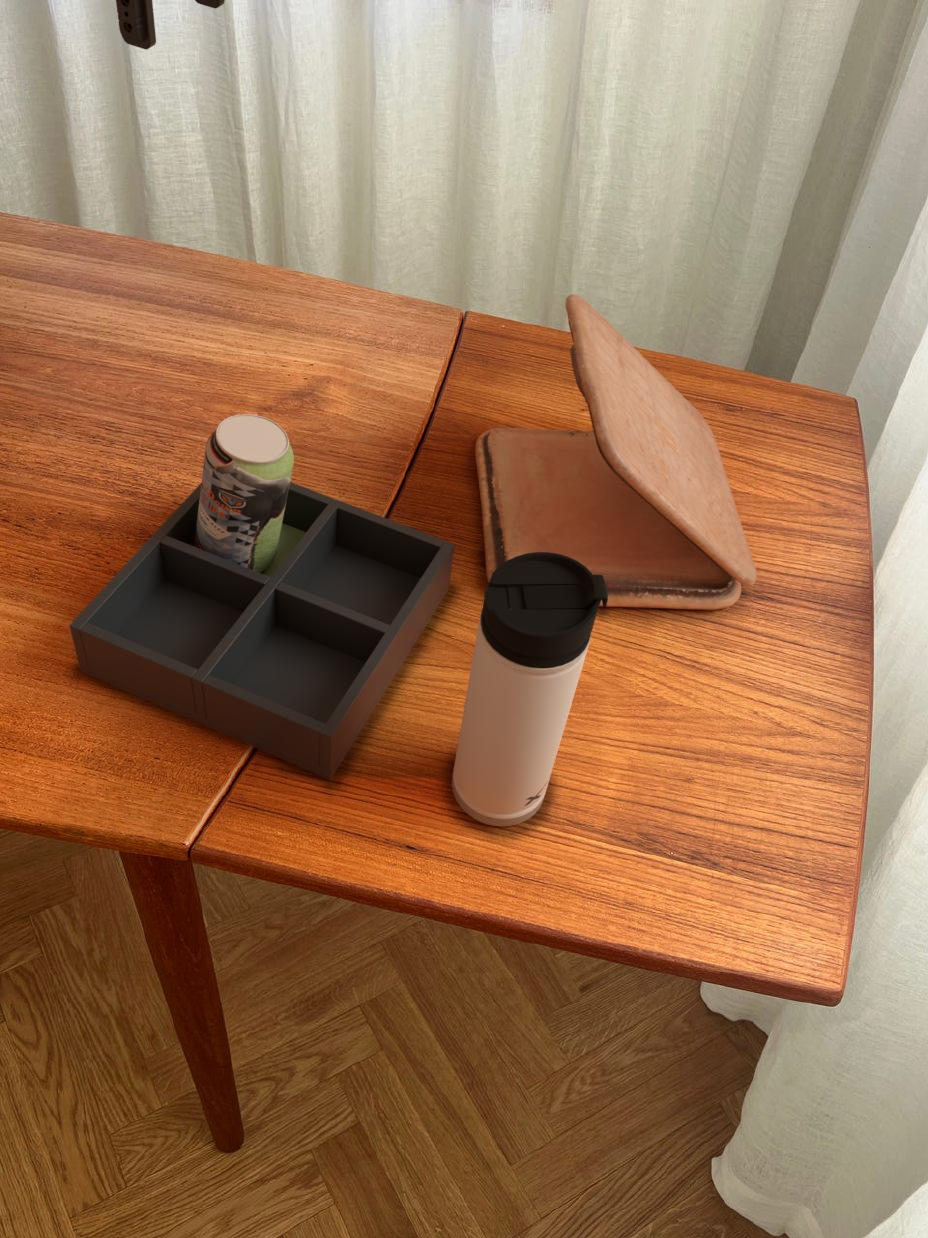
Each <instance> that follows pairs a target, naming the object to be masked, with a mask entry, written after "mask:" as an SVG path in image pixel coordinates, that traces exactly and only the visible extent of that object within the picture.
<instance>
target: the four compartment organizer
mask: <svg viewBox="0 0 928 1238" xmlns="http://www.w3.org/2000/svg"><path fill="white" fill-rule="evenodd" d="M200 492H201V483H199V485H198V486H197V487H196V488H195V489H194V490H193V491H191V493H190V494H189V495H188V496H187V498H185V500H184V501H183V502H182V503H181V504H180V505H179V506H178V508H176V509H175V510H174V511H173V513H172V514H171V515H170V516H169V517H168V518H167V519H166V520H165V521H164V522H163V523H162V525H160V527H158V529H157V530H156V531H155V532H154V533H153V534H152V535H151V536H150V538H149V539H148V540H146V542H145V543H144V544H143V545H142V546H141V547H140V548H139V550H137V552H136V553H135V554H134V555H133V556H132V557H131V558H130V559H129V560H128V561H127V562H126V563H125V564H124V566H123V567H122V568H121V569H119V571H118V572H117V573H116V574H115V575H114V577H112V579H111V580H110V581H109V582H107V584H106V585H105V586H104V587H103V588H102V589H101V590H100V591H99V592H98V594H96V596H95V597H94V598H93V599H92V600H91V601H90V603H88V605H86V607H85V608H83V610H82V611H81V612H80V613H79V614H78V615H77V616H76V618H75V619H74V620H72V622H71V623H70V624H69V630H70V635H71V638H72V643H73V645H74V650H75V654H76V658H77V662H78V665H79V669H80V672H81V673H83V674H85V675H87V676H89V677H92V678H94V679H96V680H99V681H100V682H102V683H106V684H107V685H110V686H113V687H115V688H117V689H119V690H121V691H124V692H127V693H129V694H131V695H133V696H135V697H137V698H140V699H142V700H144V701H147V702H149V703H151V704H154V705H156V706H158V707H161V708H162V709H165V710H167V711H170V712H172V713H174V714H176V715H179V716H181V717H184V718H186V719H188V720H190V721H193V722H195V723H197V724H199V725H202V726H204V727H207V728H209V729H211V730H213V731H215V732H218V733H220V734H223V735H225V736H227V737H230V738H232V739H234V740H236V741H239V742H241V743H243V744H245V745H248V746H250V747H252V748H254V749H257V750H259V751H262V752H264V753H266V754H269V755H271V756H273V757H275V758H278V759H279V760H283V761H285V762H288V763H289V764H292V765H294V766H296V767H298V768H300V769H303V770H305V771H307V772H310V773H312V774H314V775H317V776H319V777H321V778H323V779H326V780H328V781H331V780H332V778H333V777H334V775H335V774H336V772H337V770H338V769H339V767H340V765H341V764H342V762H343V760H344V759H345V757H346V756H347V754H348V753H349V751H350V750H351V748H352V746H353V745H354V743H355V741H356V740H357V738H358V736H359V735H360V734H361V732H362V730H363V728H364V727H365V725H366V724H367V722H368V720H369V719H370V717H371V715H372V714H373V712H374V710H375V709H376V708H377V706H378V704H379V703H380V701H381V699H382V698H383V696H384V695H385V693H386V691H387V690H388V688H389V687H390V685H391V683H392V682H393V680H394V678H395V677H396V675H397V674H398V672H399V670H400V669H401V667H402V666H403V664H404V662H405V661H406V659H407V658H408V656H409V655H410V653H411V651H412V649H413V648H414V646H415V645H416V643H417V642H418V640H419V638H420V637H421V635H422V634H423V632H424V630H425V629H426V627H427V625H428V624H429V623H430V621H431V619H432V617H433V616H434V614H435V613H436V611H437V609H438V608H439V606H440V604H442V601H443V600H444V598H445V596H446V595H447V593H448V592H449V590H450V583H451V582H450V581H451V575H452V569H453V562H454V553H455V548H456V547H455V543H452V542H449V541H447V540H444V539H442V538H439V537H436V536H433V535H431V534H428V533H426V532H423V531H421V530H418V529H415V528H412V527H410V526H407V525H405V524H402V523H399V522H397V521H395V520H391V519H389V518H386V517H384V516H381V515H378V514H376V513H373V512H370V511H368V510H366V509H362V508H360V507H358V506H355V505H352V504H349V503H347V502H344V501H341V500H338V499H336V498H333V497H331V496H329V495H326V494H323V493H321V492H319V491H316V490H313V489H311V488H308V487H305V486H303V485H299V484H297V483H294V482H292V481H290V485H289V490H288V495H287V501H286V506H285V511H284V516H283V521H282V526H281V532H280V537H279V542H278V547H277V552H276V556H275V559H274V561H273V562H272V564H271V565H270V566H269V567H268V568H267V569H265V570H264V571H262V572H260V573H259V572H256V571H254V570H251V569H249V568H246V567H244V566H241V565H239V564H236V563H234V562H231V561H229V560H226V559H224V558H221V557H219V556H216V555H214V554H211V553H209V552H206V551H204V550H201V549H199V548H196V547H195V535H196V526H197V518H198V509H199V500H200Z"/></svg>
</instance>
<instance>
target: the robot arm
mask: <svg viewBox="0 0 928 1238" xmlns="http://www.w3.org/2000/svg"><path fill="white" fill-rule="evenodd" d="M194 1H195V2H196V4H199V5H202V6H205V7H208V8H210V9H211V8H212V9H218V8H220V7H222V6H223V5H224V4H225V1H226V0H194ZM115 2H116V3H115V4H116V12H117V20H118V29H119V32H120V35H121V37H122V39H123V41H124V42H125V43H126V44H127V45H130V46H133V47H136V48H139V49H142V50H149V49H151V48H152V47H154V46H155V45H156V44H157V35H156V25H155V15H154V5H153V0H115Z"/></svg>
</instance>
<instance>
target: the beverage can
mask: <svg viewBox="0 0 928 1238" xmlns="http://www.w3.org/2000/svg"><path fill="white" fill-rule="evenodd" d="M289 440H290V439H289V436H288V434H287V432H286V431H285V430H284V428H282V426H280V425H279V424H278V423H276V421H274V420H272V419H270V418H267V417H265V416H261V415H258V414H251V413H242V414H235V415H234V414H233V415H232V416H229V417H227V418H225V419H223V420H222V421H220V423H219V424H218V425H217V428H216V429H215V430H214V431H213V432H212V433H211V435H210V436H209V437H208V439H207V441H206V443H205V450H204V457H203V468H202V476H201V482H200V484H201V492H200V500H199V509H198V518H197V526H196V535H195V547H196V548H199V549H201V550H204V551H206V552H209V553H211V554H214V555H216V556H219V557H221V558H224V559H226V560H229V561H231V562H234V563H236V564H239V565H241V566H244V567H246V568H249V569H251V570H254V571H256V572H259V573H260V572H262V571H264V570H265V569H267V568H268V567H269V566H270V565H271V564H272V562H273V561H274V559H275V556H276V552H277V547H278V542H279V537H280V532H281V526H282V521H283V516H284V511H285V506H286V501H287V495H288V490H289V485H290V482H291V480H292V474H293V471H294V470H293V469H294V463H295V456H294V455H295V454H294V450H293V448H292V446H291V444H290V441H289Z"/></svg>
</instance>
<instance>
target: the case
mask: <svg viewBox="0 0 928 1238" xmlns="http://www.w3.org/2000/svg"><path fill="white" fill-rule="evenodd" d="M564 303H565V311H566V314H567V320H568V321H567V322H568V326H569V332H570V335H571V341H572V345H571V347H570V349H569V350H570V353H569V354H570V359H571V360H570V361H571V367H572V371H573V375H574V379H575V382H576V385H577V388H578V390H579V392H580V393H581V395H582V397H583V398H584V402H585V403H586V404H587V408H588V414H589V419H590V422H591V426H592V427H591V428H592V430H574V429H550V428H549V429H543V428H527V427H525V428H524V427H493V428H490V429H488V430H485V431H484V432H482V433H481V434H480V435H479V436H478V438H477V440H476V441H475V447H474V455H475V456H474V457H475V465H476V473H477V482H478V488H479V498H480V506H481V518H482V519H481V520H482V532H483V542H484V559H485V560H484V561H485V568H486V569H485V574H486V579H487V583H488V584H489V582H490V579H491V576H492V573H493V572H494V571H495V570H496V569H497V568H498V567H499V566H500V565H502V564H503V563H504V562H506V561H508V560H510V559H512V558H514V557H516V556H520V555H523V554H527V553H534V552H550V553H556V554H561V555H564V556H567V557H570V558H572V559H574V560H576V561H578V562H580V563H581V564H582V565H584V566H585V567H586V568H587V569H588V570H589V571H590V572H591V573H592V574H593V575H602V576H603V578H604V580H605V583H606V587H607V593H608V601H607V605H606V607H612V608H613V607H614V608H615V607H619V608H649V609H652V608H653V609H676V610H704V611H711V610H712V611H714V610H715V611H716V610H722V609H727V608H730V607H731V606H733V605H735V604H736V603H737V602H738V600H739V599H740V597H741V594H742V585H743V586H746V587H750V586H753V585H754V584H755V583H756V582H757V569H756V566H755V561H754V558H753V555H752V552H751V548H750V545H749V542H748V540H747V537H746V534H745V530H744V528H743V524H742V521H741V518H740V514H739V511H738V509H737V506H736V502H735V499H734V495H733V492H732V489H731V485H730V482H729V478H728V474H727V473H726V469H725V466H724V462H723V460H722V459H723V458H722V455H721V453H720V449H719V446H718V443H717V440H716V438H715V435H714V433H713V430H712V428H711V427H710V425H709V424H708V422H707V420H706V419H705V417H704V416H703V415H702V413H700V412H699V410H698V409H697V408H696V407H695V406H694V405H693V404H692V403H691V402H690V401H689V400H688V399H686V397H684V396H683V394H681V392H680V391H678V390H677V388H676V387H674V386H673V384H671V382H670V381H668V379H666V378H665V377H664V375H662V374H661V373H660V372H659V370H658V369H656V367H654V366H653V365H652V363H650V362H649V361H648V360H647V358H645V357H644V355H643V354H642V353H640V352H639V350H637V349H636V348H635V347H634V346H633V345H632V343H630V342H629V341H628V339H626V338H625V337H624V336H623V334H621V333H620V332H619V331H618V330H617V329H616V328H615V327H614V326H613V325H612V324H611V323H610V322H609V321H608V320H606V318H605V317H603V316H602V315H601V313H600V312H599V311H598V310H596V309H595V308H594V307H593V306H592V305H591V304H590V303H589V302H588V301H587V300H585V299H584V298H583V297H582V296H580V295H579V294H575V293H574V294H570V295H568V296H567V297H566V299H565V302H564ZM599 607H603V603H602V600H601V603H600V605H599Z"/></svg>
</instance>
